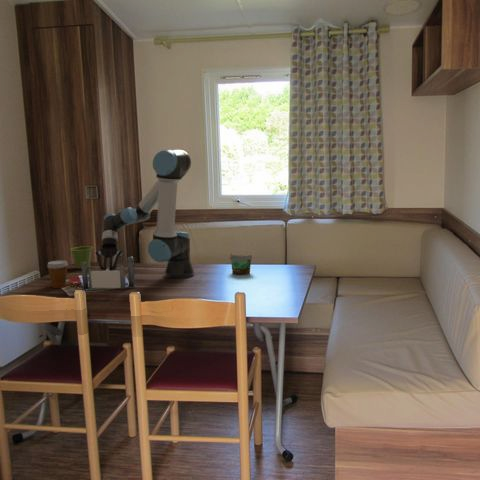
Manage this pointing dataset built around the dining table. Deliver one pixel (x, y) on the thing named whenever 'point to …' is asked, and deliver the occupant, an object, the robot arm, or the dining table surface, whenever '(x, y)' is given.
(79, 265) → the plant pot
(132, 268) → the post
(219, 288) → the dining table surface
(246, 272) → the food container
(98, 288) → the strip
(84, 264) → the hinge post
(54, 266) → the disposable coffee cup
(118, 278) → the gate
